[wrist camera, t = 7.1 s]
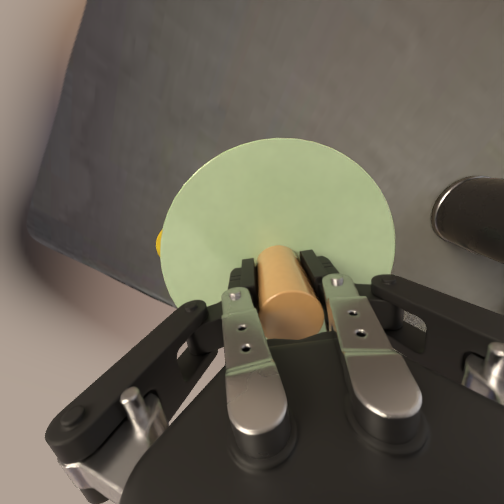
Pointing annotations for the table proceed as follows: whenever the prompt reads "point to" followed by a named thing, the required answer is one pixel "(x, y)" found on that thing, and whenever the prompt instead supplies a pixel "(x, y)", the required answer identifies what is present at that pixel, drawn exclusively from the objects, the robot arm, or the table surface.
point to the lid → (276, 229)
